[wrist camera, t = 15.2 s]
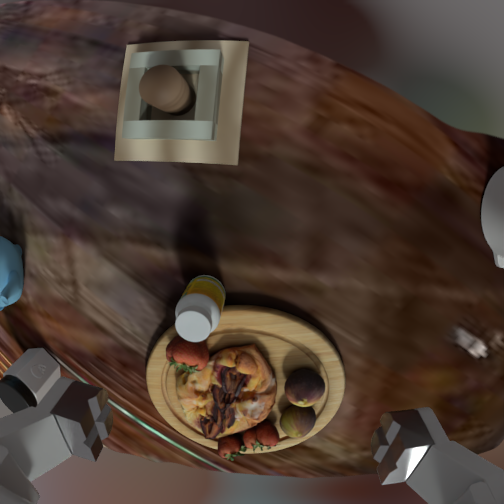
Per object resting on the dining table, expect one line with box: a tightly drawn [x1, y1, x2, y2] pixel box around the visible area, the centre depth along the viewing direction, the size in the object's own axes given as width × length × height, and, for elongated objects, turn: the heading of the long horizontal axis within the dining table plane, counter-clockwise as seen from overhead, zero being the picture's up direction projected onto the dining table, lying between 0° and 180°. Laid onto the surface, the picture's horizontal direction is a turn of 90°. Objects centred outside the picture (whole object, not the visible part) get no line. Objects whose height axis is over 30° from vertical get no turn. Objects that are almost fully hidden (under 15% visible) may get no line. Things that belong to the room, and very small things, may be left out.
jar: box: [0, 348, 61, 413], centre depth 43 cm, size 9×8×12 cm
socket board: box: [114, 40, 249, 165], centre depth 33 cm, size 16×16×5 cm
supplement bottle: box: [175, 275, 226, 342], centre depth 38 cm, size 5×5×10 cm
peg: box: [139, 65, 196, 116], centre depth 31 cm, size 4×4×8 cm
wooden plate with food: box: [146, 305, 346, 461], centre depth 44 cm, size 32×32×8 cm
